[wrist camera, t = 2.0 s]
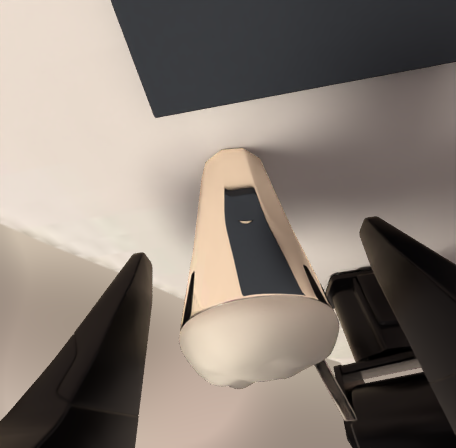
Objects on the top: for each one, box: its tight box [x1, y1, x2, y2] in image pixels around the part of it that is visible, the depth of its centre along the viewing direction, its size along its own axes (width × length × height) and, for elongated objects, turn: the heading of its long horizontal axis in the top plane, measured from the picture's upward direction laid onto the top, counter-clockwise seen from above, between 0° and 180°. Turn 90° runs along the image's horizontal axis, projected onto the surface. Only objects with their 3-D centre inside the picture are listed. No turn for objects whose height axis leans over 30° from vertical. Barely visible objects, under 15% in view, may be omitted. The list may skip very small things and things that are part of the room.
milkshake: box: [179, 148, 357, 421], centre depth 9 cm, size 4×5×10 cm
